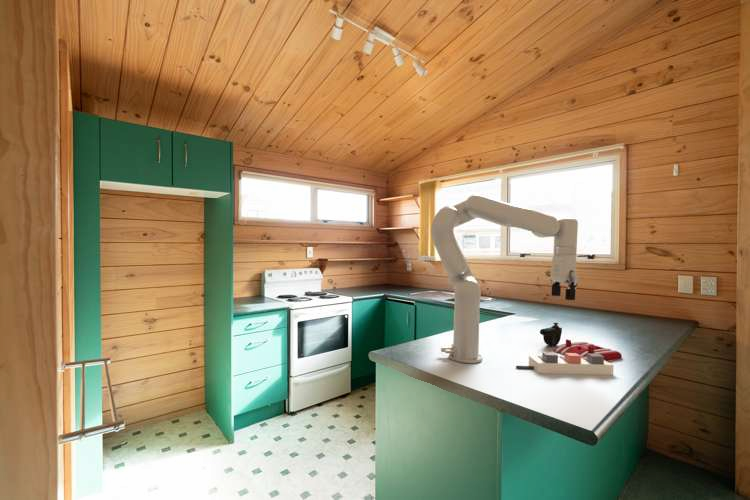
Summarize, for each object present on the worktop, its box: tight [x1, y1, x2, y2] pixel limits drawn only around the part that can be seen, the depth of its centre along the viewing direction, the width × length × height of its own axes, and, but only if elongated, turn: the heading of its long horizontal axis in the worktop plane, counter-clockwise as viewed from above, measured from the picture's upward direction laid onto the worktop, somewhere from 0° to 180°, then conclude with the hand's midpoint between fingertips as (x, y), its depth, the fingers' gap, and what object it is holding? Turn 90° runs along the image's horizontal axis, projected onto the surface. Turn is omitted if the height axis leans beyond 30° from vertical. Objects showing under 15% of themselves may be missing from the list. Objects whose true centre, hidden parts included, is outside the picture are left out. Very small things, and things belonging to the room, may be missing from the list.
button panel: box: [515, 355, 614, 376], centre depth 129 cm, size 32×8×4 cm, turn 89°
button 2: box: [565, 353, 581, 364], centre depth 127 cm, size 4×3×3 cm
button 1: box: [541, 351, 559, 363], centre depth 127 cm, size 4×3×3 cm
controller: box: [539, 322, 563, 347], centre depth 159 cm, size 4×12×10 cm, turn 122°
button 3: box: [587, 353, 604, 365], centre depth 127 cm, size 4×3×3 cm
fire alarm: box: [552, 338, 623, 362], centre depth 147 cm, size 16×6×20 cm
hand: (562, 297), depth 132 cm, fingers open, 9 cm apart
